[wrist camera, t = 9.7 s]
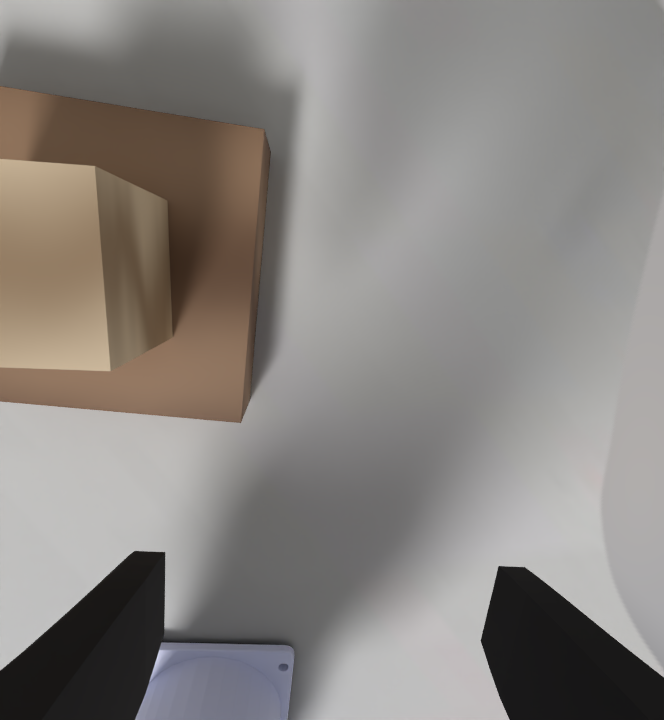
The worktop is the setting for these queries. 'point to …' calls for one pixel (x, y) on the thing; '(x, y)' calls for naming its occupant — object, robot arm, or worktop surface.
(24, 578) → the worktop surface
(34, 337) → the oak cube
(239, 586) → the worktop surface
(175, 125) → the walnut block
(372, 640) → the worktop surface
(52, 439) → the worktop surface
